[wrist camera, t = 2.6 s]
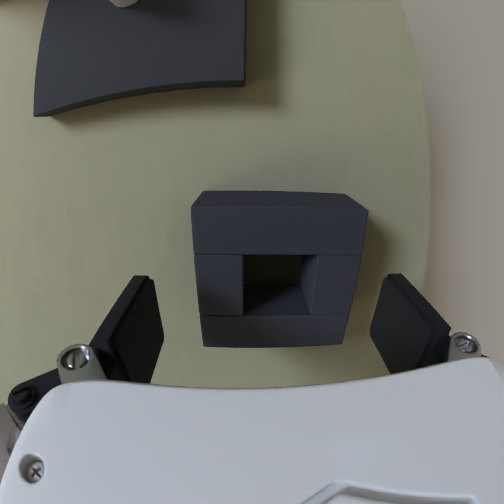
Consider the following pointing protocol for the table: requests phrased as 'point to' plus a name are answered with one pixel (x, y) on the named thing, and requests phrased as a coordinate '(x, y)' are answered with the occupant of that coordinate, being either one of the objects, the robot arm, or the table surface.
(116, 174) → the table surface
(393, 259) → the table surface
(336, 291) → the dark grey socket block
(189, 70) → the black base pad
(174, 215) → the table surface
